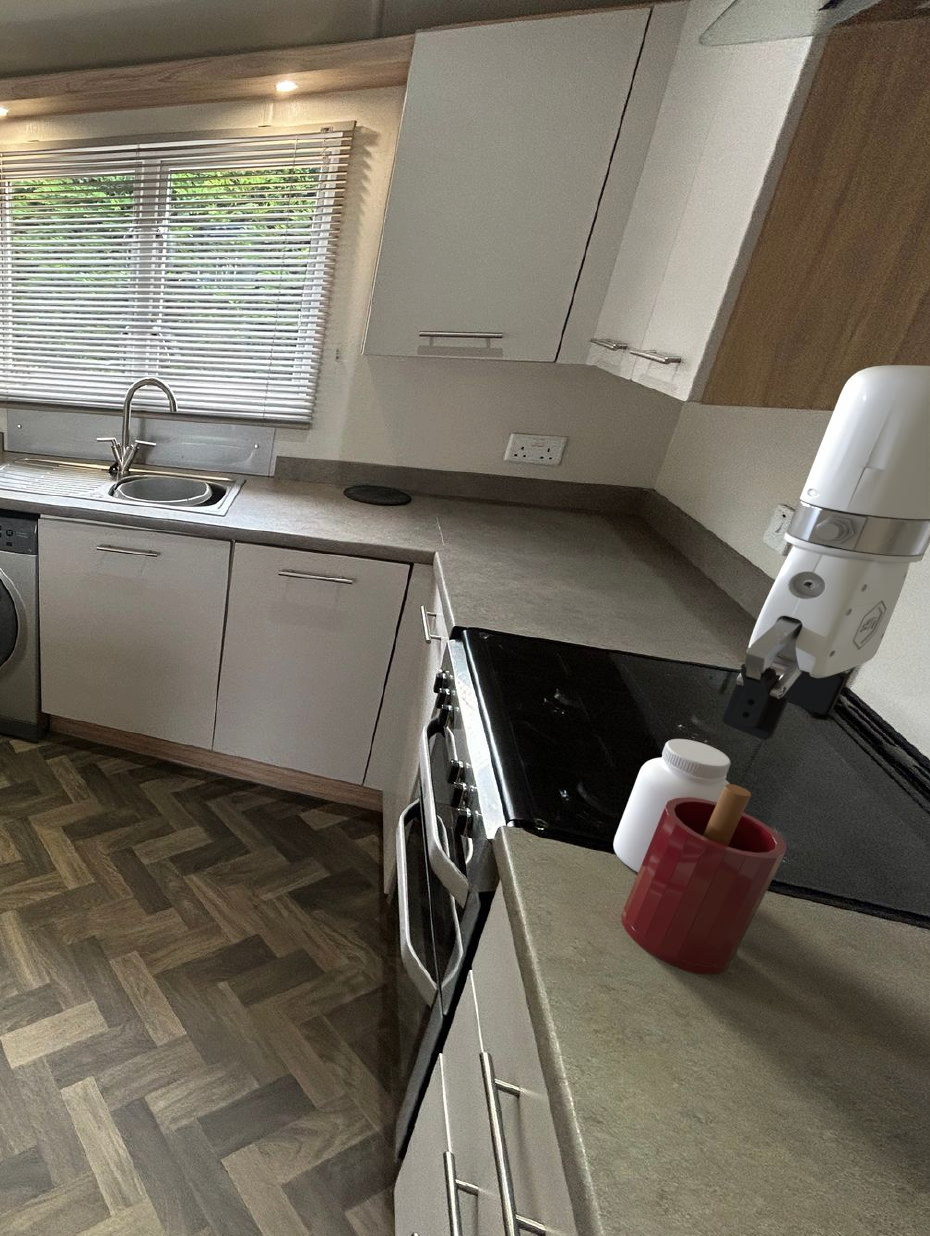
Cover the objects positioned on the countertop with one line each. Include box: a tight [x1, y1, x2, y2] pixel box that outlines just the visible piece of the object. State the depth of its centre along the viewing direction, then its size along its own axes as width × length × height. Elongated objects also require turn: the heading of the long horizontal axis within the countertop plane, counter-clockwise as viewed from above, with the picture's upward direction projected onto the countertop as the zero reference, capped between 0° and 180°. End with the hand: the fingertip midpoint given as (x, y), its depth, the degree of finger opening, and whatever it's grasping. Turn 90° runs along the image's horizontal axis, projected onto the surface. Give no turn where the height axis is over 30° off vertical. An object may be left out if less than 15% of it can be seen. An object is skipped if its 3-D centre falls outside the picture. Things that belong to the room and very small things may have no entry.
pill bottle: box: [612, 738, 732, 873], centre depth 78 cm, size 8×8×15 cm
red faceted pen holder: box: [620, 797, 787, 975], centre depth 69 cm, size 8×8×14 cm
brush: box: [703, 783, 752, 847], centre depth 68 cm, size 5×5×17 cm
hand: (776, 718), depth 62 cm, fingers open, 9 cm apart
